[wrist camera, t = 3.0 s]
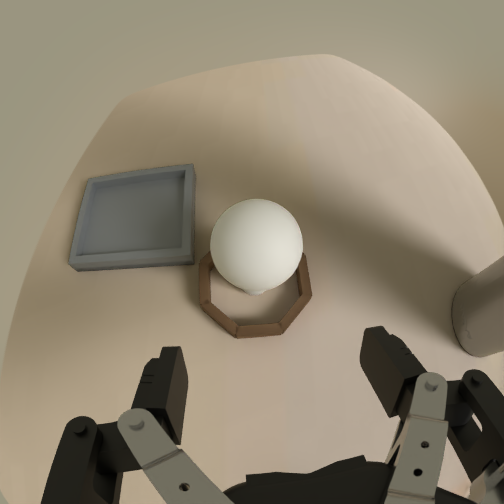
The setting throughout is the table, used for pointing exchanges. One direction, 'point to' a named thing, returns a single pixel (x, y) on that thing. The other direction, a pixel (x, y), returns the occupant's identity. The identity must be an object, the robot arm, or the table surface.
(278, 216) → the lightbulb
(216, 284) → the table surface
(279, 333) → the socket ring
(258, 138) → the table surface
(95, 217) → the tray
